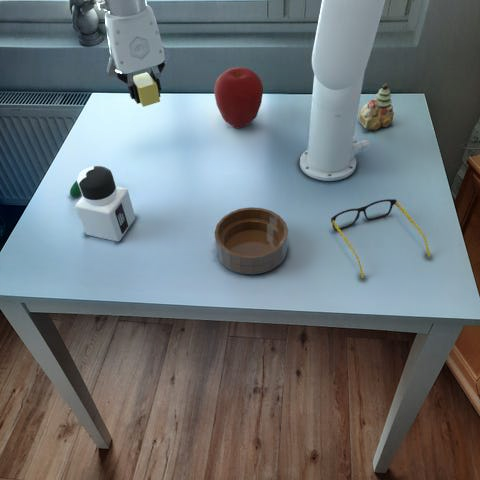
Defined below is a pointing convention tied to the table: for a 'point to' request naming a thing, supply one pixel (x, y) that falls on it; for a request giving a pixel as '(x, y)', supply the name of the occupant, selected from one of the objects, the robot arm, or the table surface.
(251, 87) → the apple
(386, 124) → the ornament
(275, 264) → the bowl
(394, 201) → the eyeglasses
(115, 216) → the container
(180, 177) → the table surface
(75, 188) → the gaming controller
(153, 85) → the cheese
